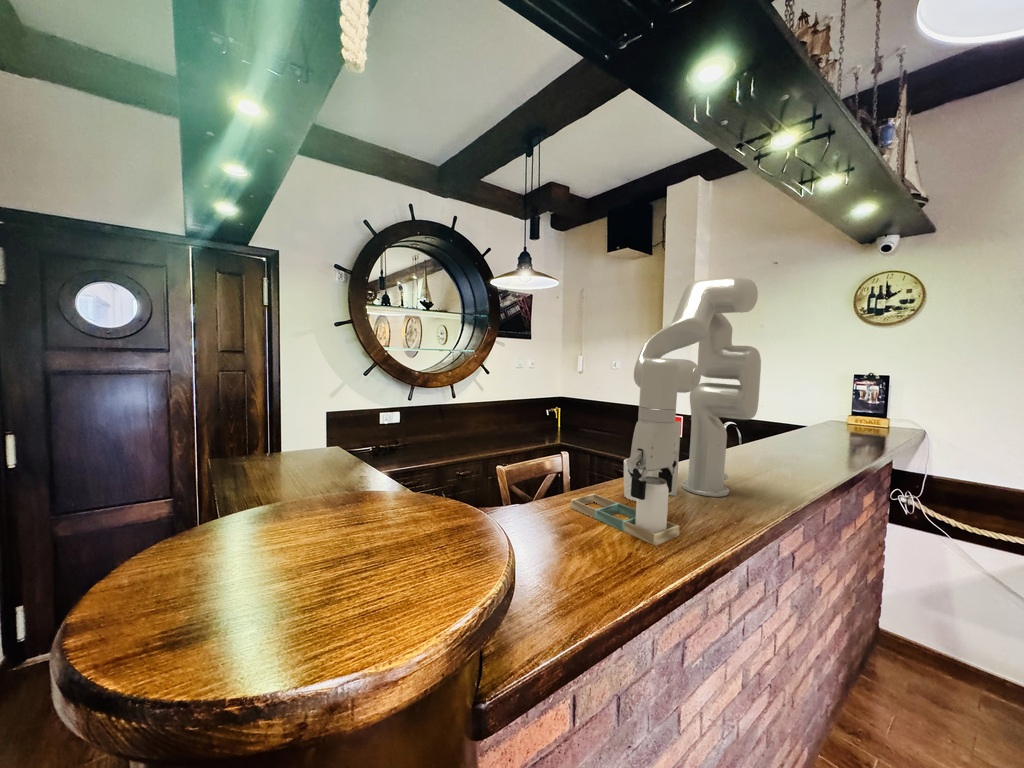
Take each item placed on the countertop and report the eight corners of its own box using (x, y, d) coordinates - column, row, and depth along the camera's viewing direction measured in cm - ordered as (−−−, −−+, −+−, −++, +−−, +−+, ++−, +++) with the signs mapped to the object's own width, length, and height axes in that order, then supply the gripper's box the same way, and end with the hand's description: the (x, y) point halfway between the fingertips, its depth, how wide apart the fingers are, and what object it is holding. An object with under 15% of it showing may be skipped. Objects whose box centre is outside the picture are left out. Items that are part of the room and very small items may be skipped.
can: (628, 529, 93) (631, 477, 93) (651, 525, 96) (654, 474, 95) (648, 541, 88) (652, 486, 87) (672, 537, 90) (675, 483, 89)
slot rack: (593, 501, 110) (593, 493, 110) (679, 535, 91) (679, 526, 91) (570, 508, 105) (570, 499, 105) (655, 545, 86) (656, 535, 86)
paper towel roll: (642, 489, 122) (646, 416, 120) (660, 487, 124) (664, 416, 122) (658, 497, 115) (662, 421, 113) (676, 496, 117) (681, 420, 115)
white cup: (648, 493, 118) (650, 459, 117) (654, 503, 110) (657, 466, 110) (619, 492, 119) (621, 457, 118) (624, 501, 111) (626, 464, 110)
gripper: (664, 412, 98) (659, 484, 99) (616, 415, 87) (611, 495, 88) (694, 416, 92) (689, 493, 93) (647, 420, 81) (641, 506, 82)
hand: (651, 494), depth 91 cm, fingers open, 9 cm apart
